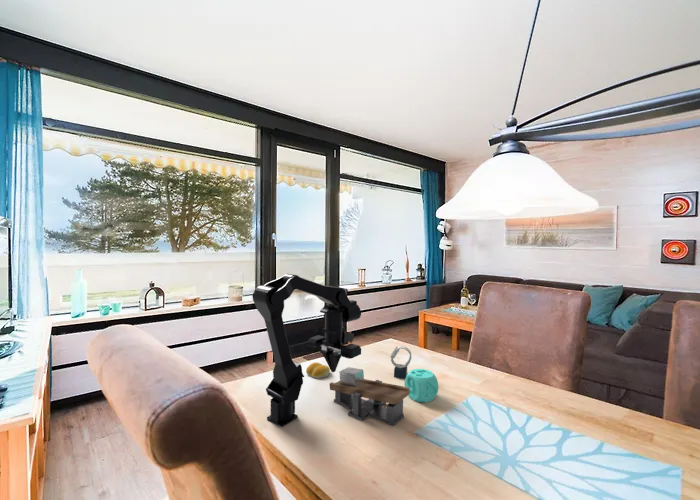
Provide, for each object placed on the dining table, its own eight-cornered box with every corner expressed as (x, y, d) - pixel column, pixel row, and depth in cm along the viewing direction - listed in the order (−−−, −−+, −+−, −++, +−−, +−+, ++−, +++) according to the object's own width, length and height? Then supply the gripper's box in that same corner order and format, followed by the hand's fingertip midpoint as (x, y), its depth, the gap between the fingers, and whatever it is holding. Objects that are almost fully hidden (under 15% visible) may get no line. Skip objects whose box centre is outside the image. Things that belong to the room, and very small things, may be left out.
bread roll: (319, 381, 127) (319, 370, 126) (302, 374, 132) (302, 364, 132) (334, 374, 133) (334, 363, 133) (317, 368, 139) (317, 358, 139)
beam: (329, 389, 110) (329, 383, 110) (345, 381, 117) (345, 375, 117) (395, 404, 96) (395, 397, 96) (409, 394, 102) (408, 387, 102)
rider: (340, 385, 110) (339, 371, 110) (349, 380, 113) (348, 367, 114) (355, 388, 106) (354, 374, 106) (364, 383, 110) (363, 369, 110)
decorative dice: (438, 399, 113) (439, 375, 113) (419, 404, 110) (419, 379, 109) (422, 389, 121) (423, 366, 120) (404, 394, 117) (404, 370, 116)
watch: (391, 371, 136) (391, 343, 136) (411, 373, 134) (412, 345, 134) (388, 376, 131) (389, 348, 130) (410, 379, 129) (411, 350, 128)
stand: (326, 406, 108) (326, 384, 108) (352, 391, 118) (352, 371, 118) (387, 431, 94) (387, 407, 94) (410, 412, 105) (410, 390, 105)
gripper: (371, 325, 114) (370, 371, 115) (328, 316, 126) (328, 358, 127) (350, 332, 106) (350, 382, 106) (306, 322, 117) (306, 367, 118)
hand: (333, 371), depth 115 cm, fingers closed
